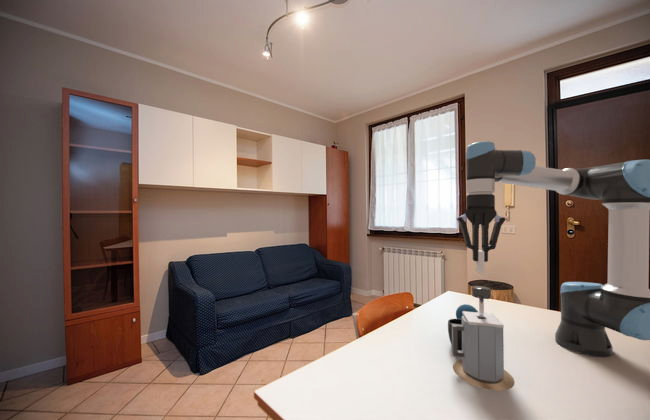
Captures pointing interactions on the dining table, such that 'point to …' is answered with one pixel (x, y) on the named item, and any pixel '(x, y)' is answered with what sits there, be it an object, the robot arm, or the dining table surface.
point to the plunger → (481, 297)
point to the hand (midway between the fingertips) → (480, 272)
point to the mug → (459, 332)
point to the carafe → (480, 347)
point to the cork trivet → (503, 385)
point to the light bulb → (464, 308)
